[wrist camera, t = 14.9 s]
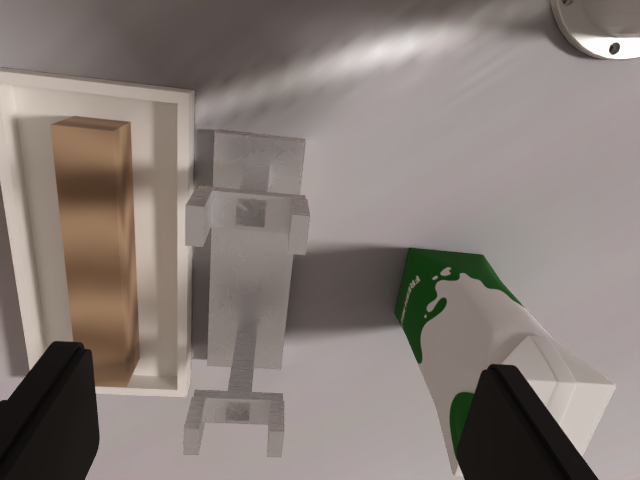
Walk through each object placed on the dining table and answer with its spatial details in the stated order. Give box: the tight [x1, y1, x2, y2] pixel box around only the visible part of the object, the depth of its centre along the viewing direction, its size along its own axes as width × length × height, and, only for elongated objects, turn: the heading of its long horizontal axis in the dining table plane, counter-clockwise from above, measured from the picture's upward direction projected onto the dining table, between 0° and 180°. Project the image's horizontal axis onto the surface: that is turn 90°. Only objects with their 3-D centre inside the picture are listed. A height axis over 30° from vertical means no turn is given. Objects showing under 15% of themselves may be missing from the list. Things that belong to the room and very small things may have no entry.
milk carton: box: [395, 248, 616, 477], centre depth 34 cm, size 9×9×20 cm
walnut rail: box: [50, 116, 140, 388], centre depth 37 cm, size 22×4×4 cm, turn 173°
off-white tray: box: [0, 68, 195, 397], centre depth 38 cm, size 28×14×2 cm, turn 173°
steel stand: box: [184, 130, 310, 457], centre depth 35 cm, size 22×7×13 cm, turn 173°
